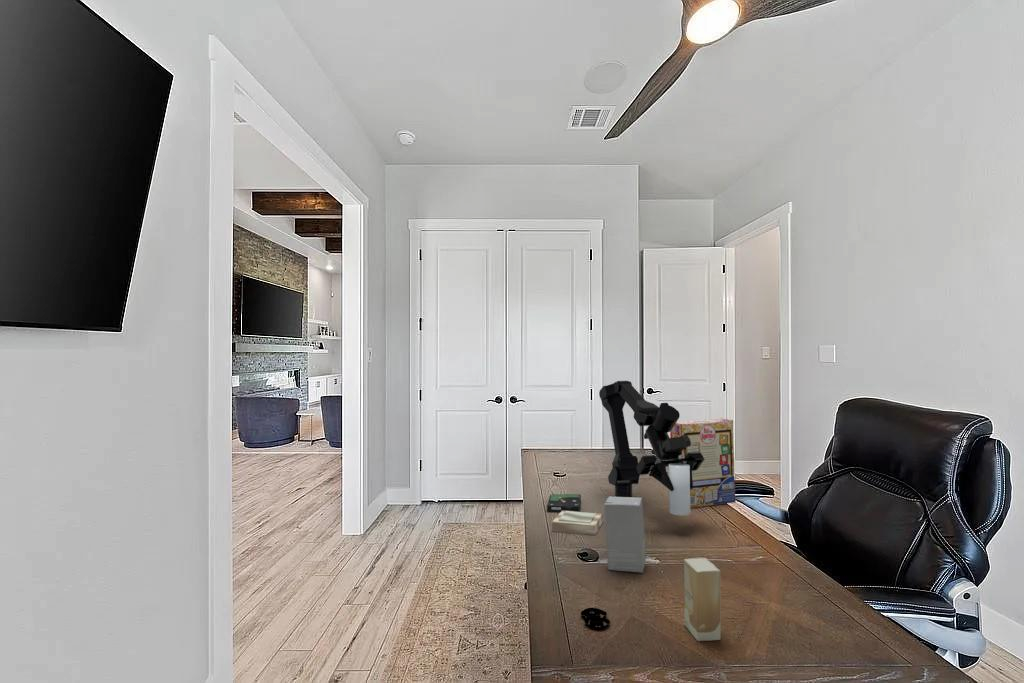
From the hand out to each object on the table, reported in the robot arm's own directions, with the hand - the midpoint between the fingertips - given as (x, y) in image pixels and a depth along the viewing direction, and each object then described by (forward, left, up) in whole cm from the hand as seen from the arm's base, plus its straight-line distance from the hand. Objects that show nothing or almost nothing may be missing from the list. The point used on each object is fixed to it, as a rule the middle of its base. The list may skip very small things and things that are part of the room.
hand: (682, 489), depth 156 cm
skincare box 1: (+28, -12, -12) cm, 33 cm away
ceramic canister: (-1, -1, -7) cm, 7 cm away
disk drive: (-19, -37, -13) cm, 44 cm away
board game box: (-34, +5, -12) cm, 37 cm away
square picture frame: (+1, -29, -12) cm, 31 cm away
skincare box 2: (+55, +5, -12) cm, 57 cm away
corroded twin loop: (+56, -14, -13) cm, 59 cm away
